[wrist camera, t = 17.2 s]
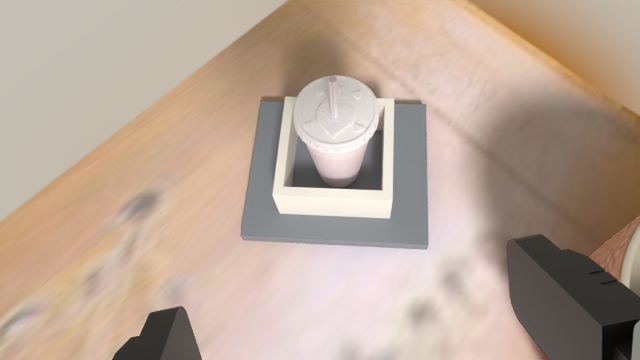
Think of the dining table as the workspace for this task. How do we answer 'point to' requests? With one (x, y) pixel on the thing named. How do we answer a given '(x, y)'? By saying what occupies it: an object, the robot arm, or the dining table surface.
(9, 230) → the dining table surface
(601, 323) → the robot arm
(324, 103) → the smoothie
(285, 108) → the socket board
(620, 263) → the planter
